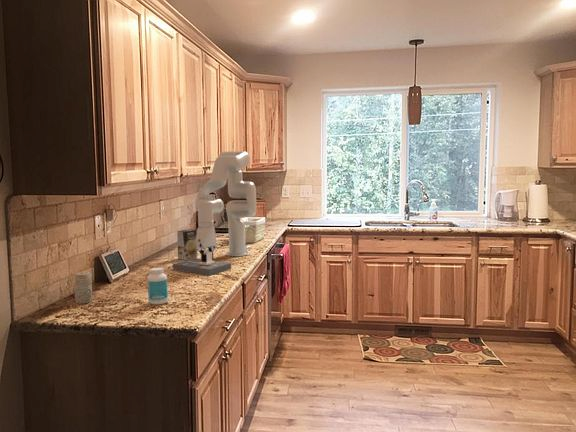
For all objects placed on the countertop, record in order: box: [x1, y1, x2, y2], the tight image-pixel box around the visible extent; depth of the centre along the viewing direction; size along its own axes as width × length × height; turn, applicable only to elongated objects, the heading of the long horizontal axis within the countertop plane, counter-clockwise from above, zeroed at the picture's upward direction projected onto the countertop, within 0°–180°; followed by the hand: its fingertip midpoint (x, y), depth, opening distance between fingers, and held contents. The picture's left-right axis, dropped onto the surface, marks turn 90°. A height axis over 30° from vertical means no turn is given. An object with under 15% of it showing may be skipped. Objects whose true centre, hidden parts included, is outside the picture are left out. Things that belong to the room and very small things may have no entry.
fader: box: [200, 250, 216, 265], centre depth 245 cm, size 6×5×6 cm
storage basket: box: [241, 216, 266, 244], centre depth 331 cm, size 24×16×15 cm
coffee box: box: [176, 228, 198, 261], centre depth 274 cm, size 9×6×16 cm
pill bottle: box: [146, 267, 169, 306], centre depth 191 cm, size 8×7×14 cm
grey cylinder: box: [74, 271, 93, 305], centre depth 193 cm, size 6×8×12 cm
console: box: [172, 257, 232, 276], centre depth 247 cm, size 16×25×3 cm, turn 56°
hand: (207, 260), depth 245 cm, fingers closed on fader, 4 cm apart
